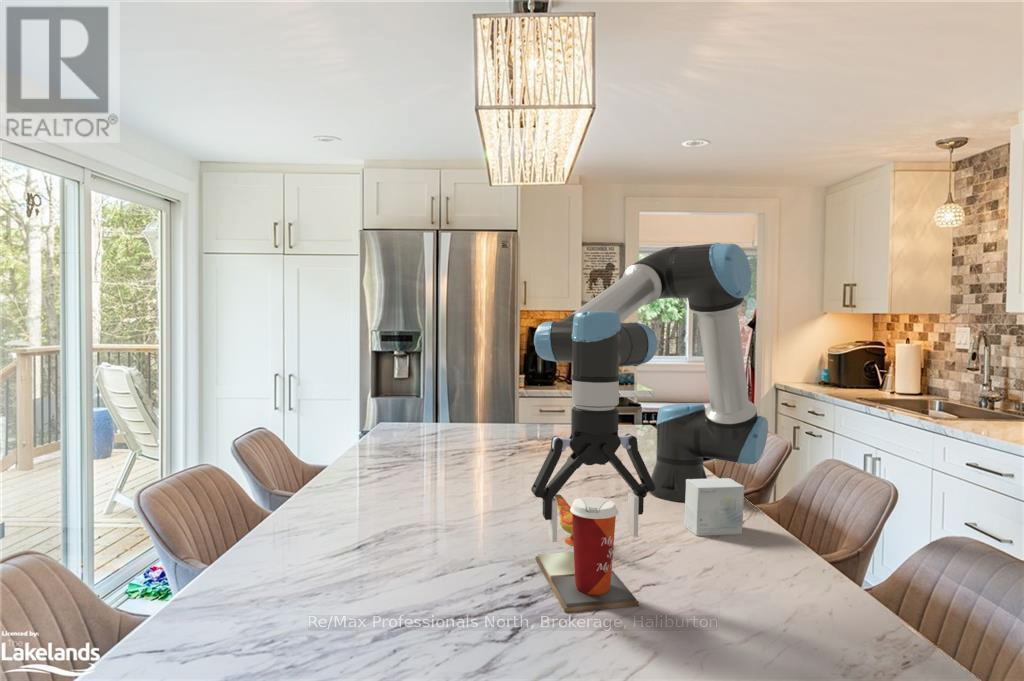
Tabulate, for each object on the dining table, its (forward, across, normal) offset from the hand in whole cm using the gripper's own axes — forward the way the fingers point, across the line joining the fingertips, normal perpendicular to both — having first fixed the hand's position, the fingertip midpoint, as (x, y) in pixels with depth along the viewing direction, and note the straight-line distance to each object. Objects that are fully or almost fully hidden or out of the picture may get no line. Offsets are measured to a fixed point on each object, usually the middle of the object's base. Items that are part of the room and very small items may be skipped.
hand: (593, 536), depth 97 cm
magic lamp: (+10, -4, -24) cm, 26 cm away
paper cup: (+9, 0, 0) cm, 9 cm away
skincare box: (+10, -35, -24) cm, 43 cm away
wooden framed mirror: (+10, 0, -5) cm, 11 cm away
